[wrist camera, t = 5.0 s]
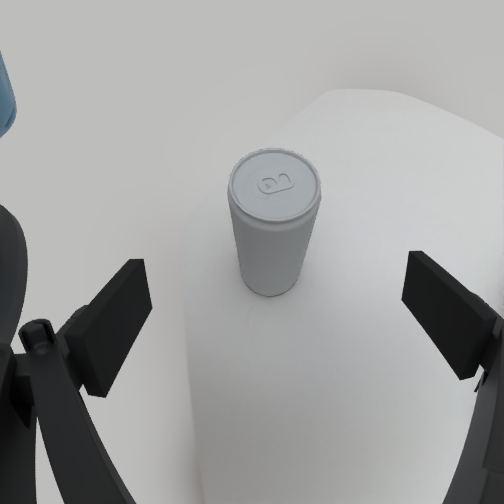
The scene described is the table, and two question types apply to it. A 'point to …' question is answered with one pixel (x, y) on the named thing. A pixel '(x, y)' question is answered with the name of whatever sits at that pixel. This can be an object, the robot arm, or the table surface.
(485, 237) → the table surface
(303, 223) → the beverage can
